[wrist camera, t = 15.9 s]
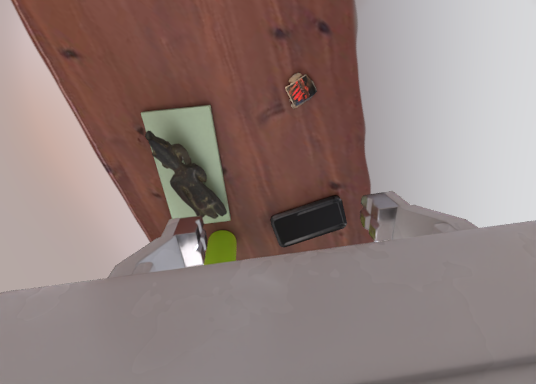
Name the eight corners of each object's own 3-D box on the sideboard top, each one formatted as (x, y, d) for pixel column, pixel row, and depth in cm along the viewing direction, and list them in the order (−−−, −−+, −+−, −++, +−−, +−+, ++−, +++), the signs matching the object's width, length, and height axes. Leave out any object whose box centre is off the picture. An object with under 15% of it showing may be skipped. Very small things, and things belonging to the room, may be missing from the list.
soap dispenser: (199, 245, 54) (179, 332, 36) (221, 225, 53) (210, 306, 35) (220, 259, 56) (211, 348, 38) (242, 240, 55) (242, 324, 37)
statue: (229, 199, 52) (163, 114, 40) (235, 214, 47) (163, 124, 35) (203, 216, 52) (129, 136, 40) (207, 233, 47) (124, 148, 35)
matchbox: (319, 89, 43) (319, 89, 42) (296, 112, 44) (297, 112, 44) (300, 67, 41) (301, 67, 41) (278, 92, 42) (278, 92, 42)
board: (143, 111, 42) (140, 112, 41) (210, 104, 42) (209, 105, 41) (176, 224, 51) (174, 227, 50) (230, 217, 52) (230, 220, 51)
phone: (347, 226, 54) (280, 248, 55) (345, 224, 55) (280, 245, 56) (340, 195, 51) (269, 219, 52) (338, 193, 52) (268, 216, 53)
